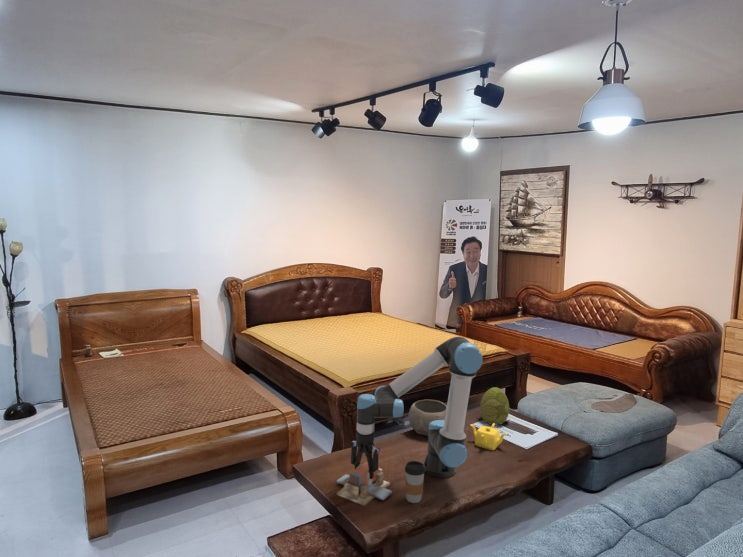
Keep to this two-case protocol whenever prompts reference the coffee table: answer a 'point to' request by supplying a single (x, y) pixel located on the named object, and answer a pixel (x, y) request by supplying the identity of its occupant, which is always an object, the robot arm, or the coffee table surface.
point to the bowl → (426, 414)
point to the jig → (364, 489)
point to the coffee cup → (414, 481)
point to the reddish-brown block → (361, 475)
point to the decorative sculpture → (494, 406)
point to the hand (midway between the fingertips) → (363, 482)
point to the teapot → (487, 437)
